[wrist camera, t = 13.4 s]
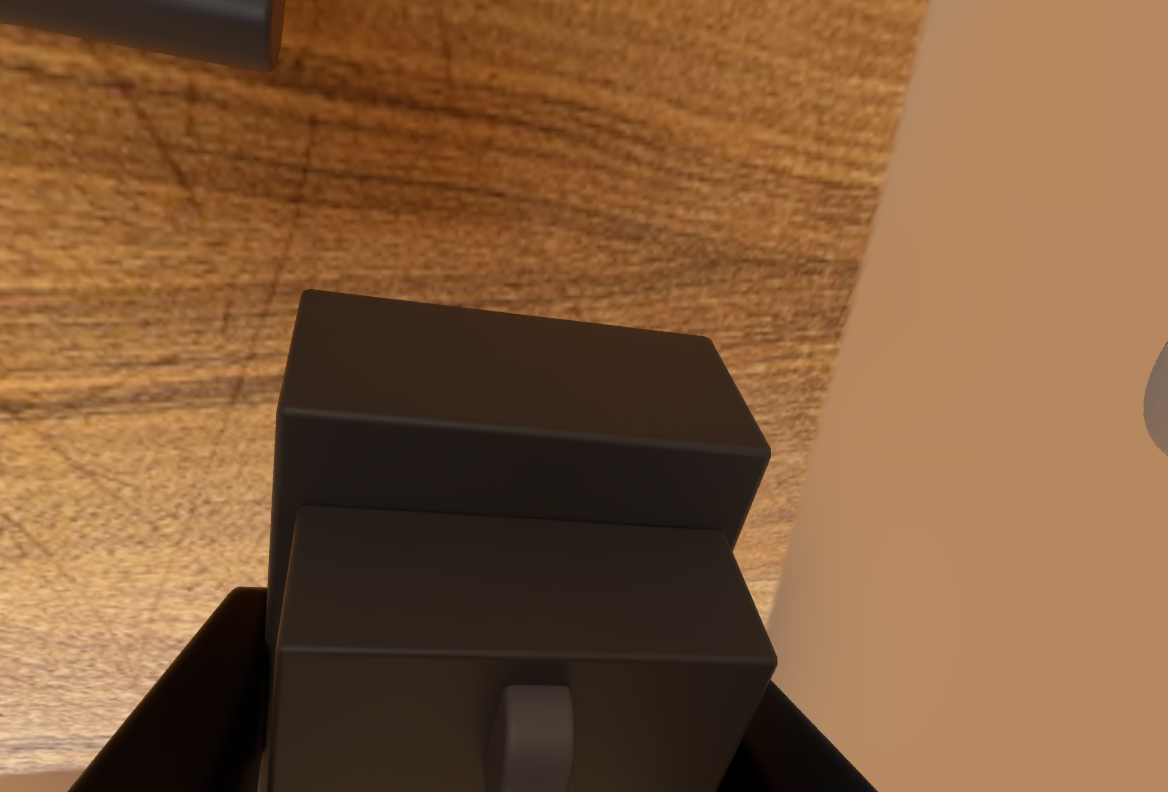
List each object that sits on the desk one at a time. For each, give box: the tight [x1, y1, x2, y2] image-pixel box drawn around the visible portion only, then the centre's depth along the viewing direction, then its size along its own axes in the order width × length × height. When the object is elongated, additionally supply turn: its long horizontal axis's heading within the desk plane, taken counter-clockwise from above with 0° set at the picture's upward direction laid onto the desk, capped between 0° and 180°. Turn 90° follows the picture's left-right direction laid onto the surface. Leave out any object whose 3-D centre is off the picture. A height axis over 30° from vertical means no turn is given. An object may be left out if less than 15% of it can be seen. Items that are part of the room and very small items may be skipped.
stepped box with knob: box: [257, 289, 777, 792], centre depth 9 cm, size 4×6×4 cm, turn 167°
